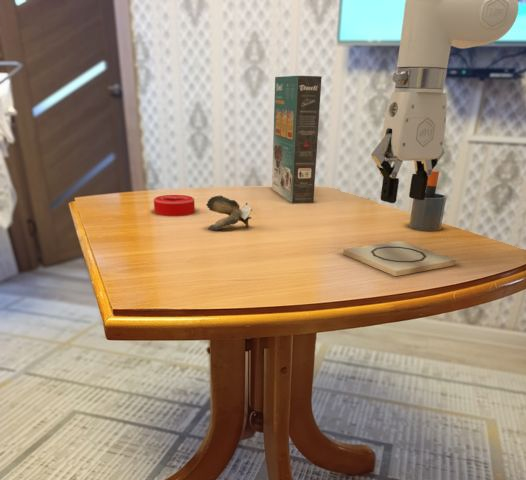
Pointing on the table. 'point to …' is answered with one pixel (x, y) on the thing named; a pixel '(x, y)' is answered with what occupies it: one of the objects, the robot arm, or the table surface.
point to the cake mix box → (295, 136)
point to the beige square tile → (399, 258)
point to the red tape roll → (174, 205)
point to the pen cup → (428, 213)
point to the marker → (432, 184)
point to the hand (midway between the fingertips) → (402, 199)
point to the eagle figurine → (228, 212)
